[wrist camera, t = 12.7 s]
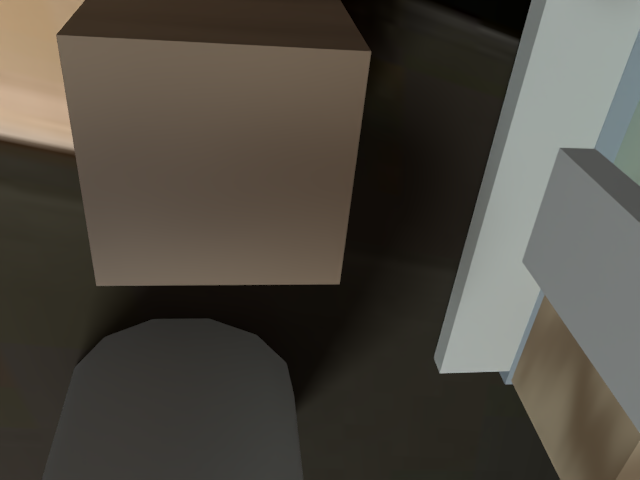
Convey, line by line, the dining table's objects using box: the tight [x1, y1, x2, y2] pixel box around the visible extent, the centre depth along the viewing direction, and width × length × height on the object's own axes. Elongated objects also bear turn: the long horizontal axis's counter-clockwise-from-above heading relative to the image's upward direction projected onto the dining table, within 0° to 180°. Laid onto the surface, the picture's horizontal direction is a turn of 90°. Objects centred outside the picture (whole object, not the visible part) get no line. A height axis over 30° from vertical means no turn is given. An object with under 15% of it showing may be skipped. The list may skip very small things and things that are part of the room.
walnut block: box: [56, 0, 371, 286], centre depth 13 cm, size 5×5×6 cm
